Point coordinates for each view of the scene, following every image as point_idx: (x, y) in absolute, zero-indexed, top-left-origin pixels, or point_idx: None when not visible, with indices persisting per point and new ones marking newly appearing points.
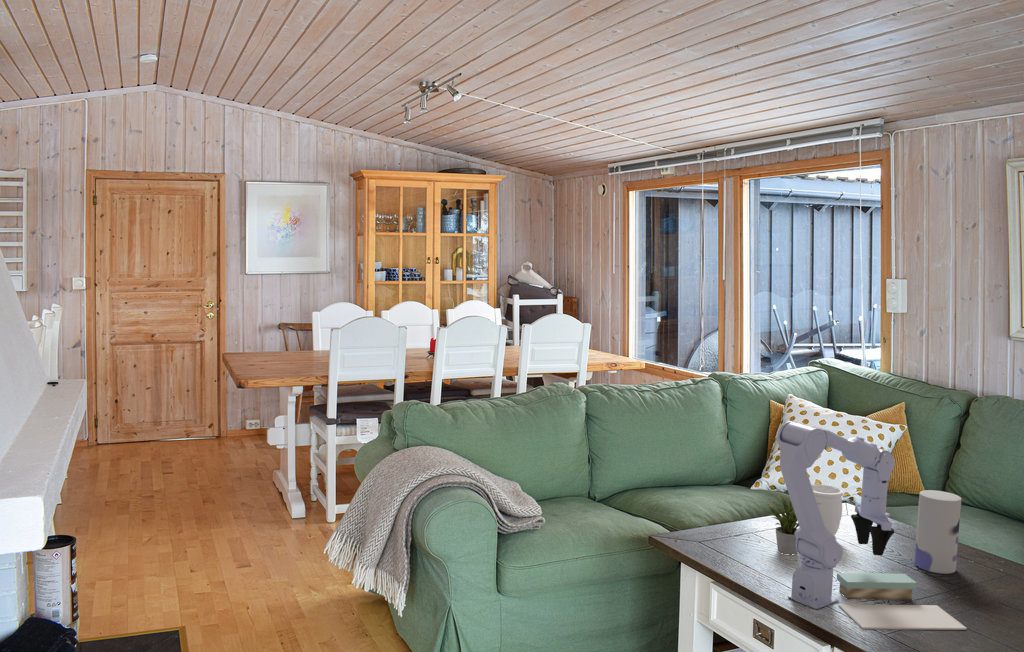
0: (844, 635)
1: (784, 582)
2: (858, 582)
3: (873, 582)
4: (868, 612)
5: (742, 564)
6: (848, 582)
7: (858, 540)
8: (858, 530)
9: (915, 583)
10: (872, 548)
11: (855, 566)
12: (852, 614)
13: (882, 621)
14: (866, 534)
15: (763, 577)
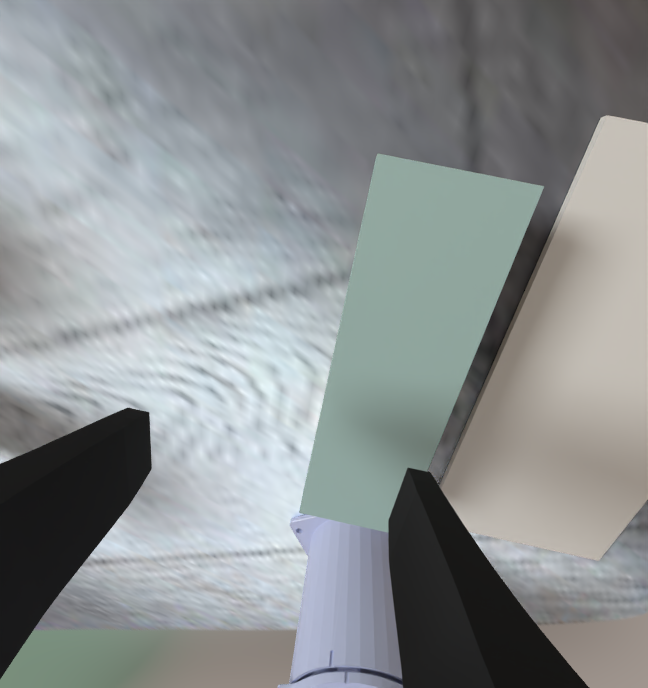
0: (597, 609)
1: (225, 544)
2: None
3: (438, 440)
4: (518, 481)
5: (92, 565)
6: None
7: (125, 498)
8: (38, 609)
9: (538, 197)
10: (393, 583)
11: (46, 199)
12: (507, 531)
13: (600, 486)
14: (70, 495)
15: (187, 569)
